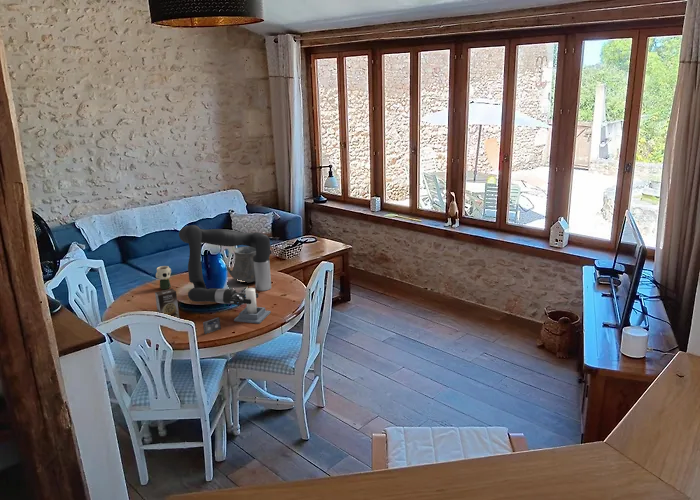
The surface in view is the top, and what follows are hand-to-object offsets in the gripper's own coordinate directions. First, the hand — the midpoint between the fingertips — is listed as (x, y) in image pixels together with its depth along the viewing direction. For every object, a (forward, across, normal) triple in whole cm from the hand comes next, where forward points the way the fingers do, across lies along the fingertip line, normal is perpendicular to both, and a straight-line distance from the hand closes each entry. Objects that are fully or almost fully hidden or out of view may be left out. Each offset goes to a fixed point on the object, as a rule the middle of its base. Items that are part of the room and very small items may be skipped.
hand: (254, 298), depth 277 cm
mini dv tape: (-14, -20, +10) cm, 27 cm away
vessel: (-28, +52, +10) cm, 60 cm away
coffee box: (-42, -14, +10) cm, 45 cm away
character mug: (-72, +28, +10) cm, 78 cm away
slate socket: (-2, 0, +10) cm, 10 cm away
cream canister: (-2, 0, +9) cm, 9 cm away
